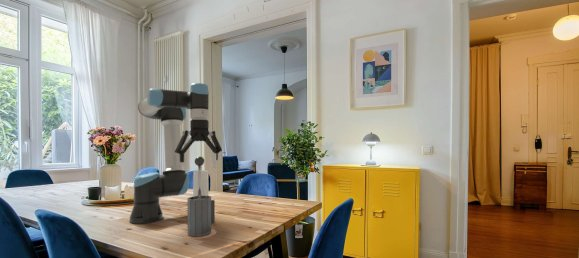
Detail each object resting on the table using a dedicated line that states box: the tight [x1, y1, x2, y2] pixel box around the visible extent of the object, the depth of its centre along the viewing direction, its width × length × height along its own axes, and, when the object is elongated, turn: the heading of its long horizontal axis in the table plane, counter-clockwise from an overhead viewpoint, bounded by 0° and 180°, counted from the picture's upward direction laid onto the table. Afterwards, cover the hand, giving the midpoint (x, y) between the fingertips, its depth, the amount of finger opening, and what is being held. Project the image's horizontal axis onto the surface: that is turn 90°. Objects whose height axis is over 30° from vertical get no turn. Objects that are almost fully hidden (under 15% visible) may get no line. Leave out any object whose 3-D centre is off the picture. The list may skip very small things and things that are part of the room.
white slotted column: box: [192, 170, 209, 197], centre depth 139 cm, size 7×7×25 cm
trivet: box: [181, 228, 218, 240], centre depth 120 cm, size 14×14×1 cm
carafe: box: [186, 195, 216, 237], centre depth 121 cm, size 10×12×15 cm
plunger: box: [193, 156, 206, 200], centre depth 121 cm, size 6×6×19 cm
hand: (199, 169), depth 121 cm, fingers open, 13 cm apart
